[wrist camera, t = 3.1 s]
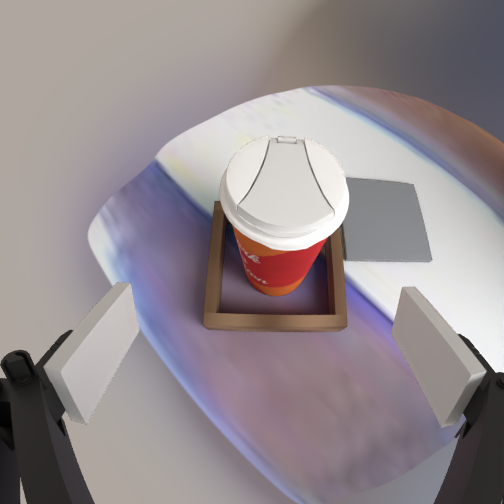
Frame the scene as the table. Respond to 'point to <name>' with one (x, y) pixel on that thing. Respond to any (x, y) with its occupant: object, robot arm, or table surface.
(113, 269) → the table surface
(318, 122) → the table surface
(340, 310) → the brown square open frame
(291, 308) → the table surface
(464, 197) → the table surface
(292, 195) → the paper cup
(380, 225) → the mat
